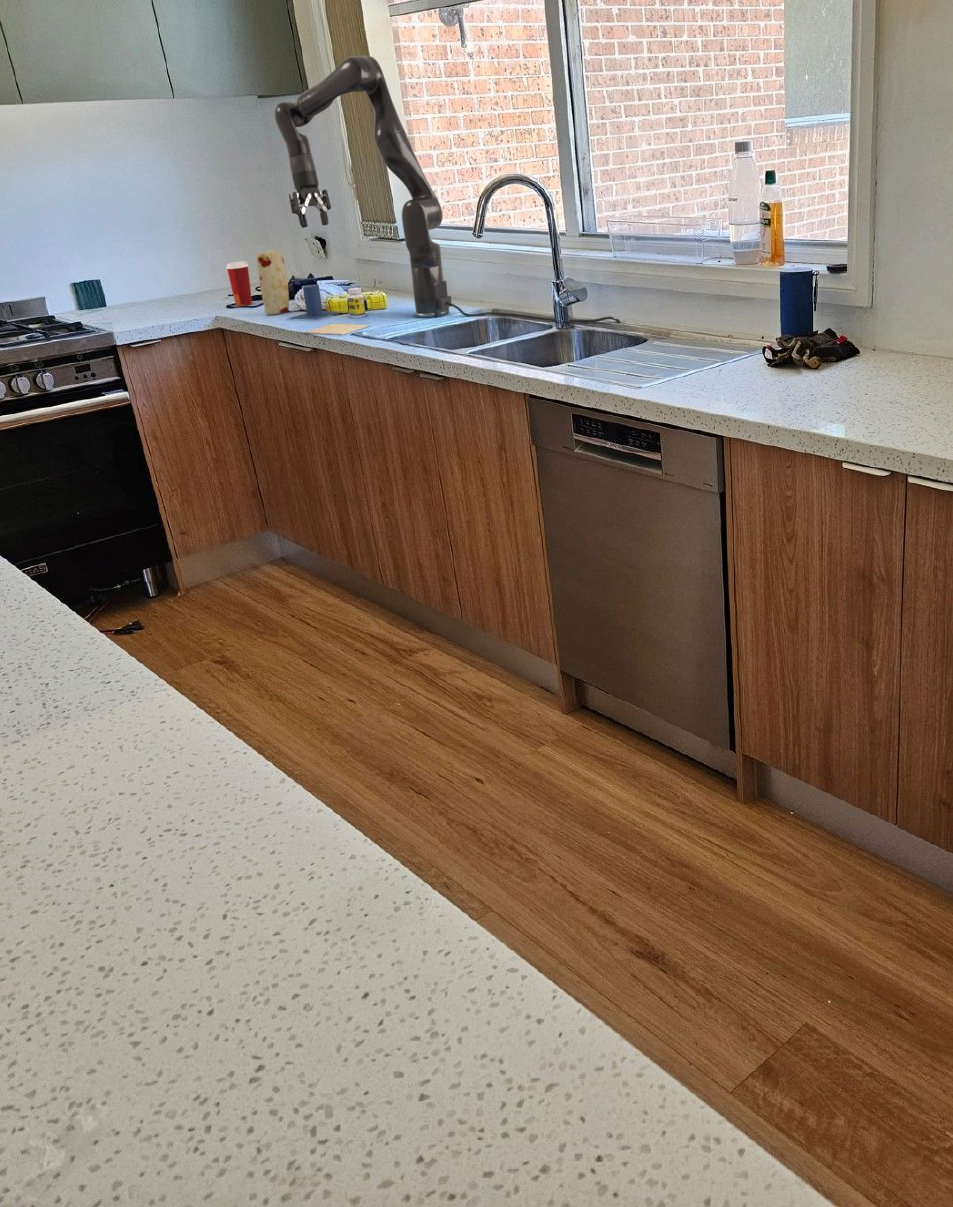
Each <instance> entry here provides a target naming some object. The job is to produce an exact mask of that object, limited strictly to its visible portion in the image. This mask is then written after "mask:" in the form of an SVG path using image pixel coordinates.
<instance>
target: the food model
mask: <svg viewBox="0 0 953 1207" xmlns="http://www.w3.org/2000/svg"><path fill="white" fill-rule="evenodd" d="M256 263H257V264H256V265H257V273H258V282H259V287H260V292H261V297H262V298H261V299H262V302H263V306H264V312H265V314H266V315H267V316H268V315H271V316H272V315H273V316H274V315H280V314H285V313H288V312H289V309H290V300H289V299H290V296H289V295H290V294H289V293H290V292H289V281H288V276H287V270H286V266H285V262H284V257H283V253H282V251H281V250H279V249H270V250H267V251H261V252H260V253H258V254H257V255H256Z"/></svg>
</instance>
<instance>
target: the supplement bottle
mask: <svg viewBox="0 0 953 1207" xmlns="http://www.w3.org/2000/svg"><path fill="white" fill-rule="evenodd" d="M347 293H348V295H347V302H348V311H349V316H350V317H351V318H359V317H364V316H366V308H365V298H364V295H363V294H362V288H361V287H350V288H348V289H347Z"/></svg>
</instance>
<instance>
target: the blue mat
mask: <svg viewBox="0 0 953 1207" xmlns="http://www.w3.org/2000/svg"><path fill="white" fill-rule="evenodd" d="M322 311H323V315H321V316H315V317H308V316H307V312H305V313H301V314H299V315H295V316H292V317H288V320H309V321H317V320H321V319H324V318H327V317H330V316H334V315H337V314H341V313H342V311H326V310H322Z"/></svg>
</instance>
